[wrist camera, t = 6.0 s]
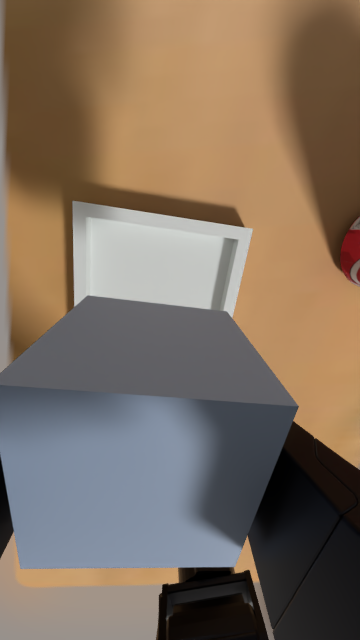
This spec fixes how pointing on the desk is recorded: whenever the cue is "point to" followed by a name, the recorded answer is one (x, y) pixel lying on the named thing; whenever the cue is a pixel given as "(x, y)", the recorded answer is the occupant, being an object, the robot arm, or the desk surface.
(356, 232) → the beverage can
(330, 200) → the desk surface
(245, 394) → the block
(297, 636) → the robot arm
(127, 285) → the tray
